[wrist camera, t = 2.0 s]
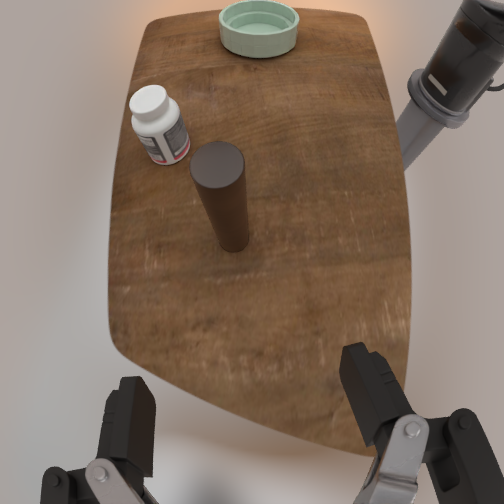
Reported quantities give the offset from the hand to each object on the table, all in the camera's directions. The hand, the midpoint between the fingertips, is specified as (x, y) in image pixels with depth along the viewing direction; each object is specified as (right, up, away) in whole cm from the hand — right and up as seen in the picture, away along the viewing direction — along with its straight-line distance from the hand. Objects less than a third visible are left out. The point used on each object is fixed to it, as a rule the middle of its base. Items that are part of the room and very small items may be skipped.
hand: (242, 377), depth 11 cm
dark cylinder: (-2, +6, +21) cm, 22 cm away
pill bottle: (-10, +18, +24) cm, 32 cm away
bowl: (+1, +40, +29) cm, 49 cm away
